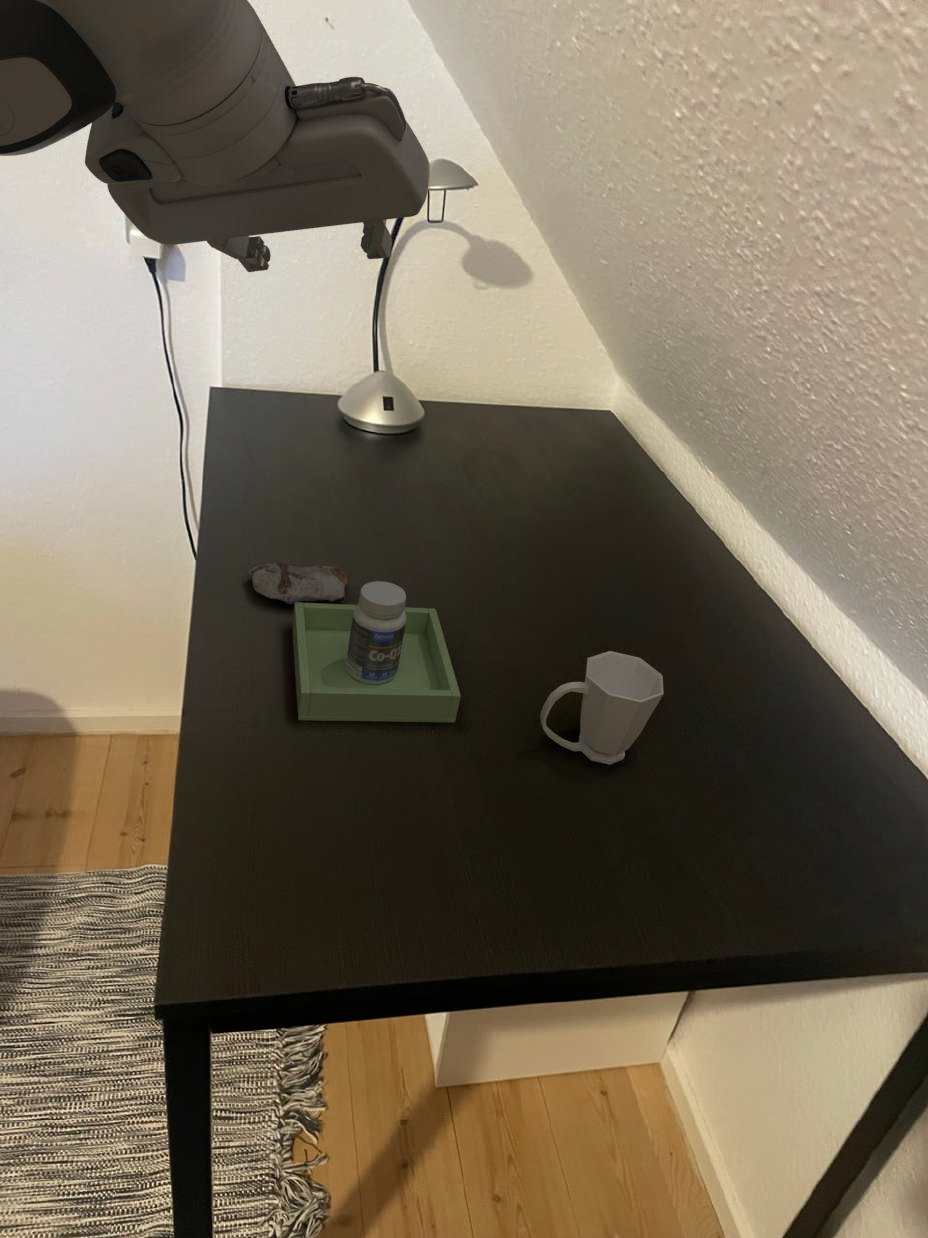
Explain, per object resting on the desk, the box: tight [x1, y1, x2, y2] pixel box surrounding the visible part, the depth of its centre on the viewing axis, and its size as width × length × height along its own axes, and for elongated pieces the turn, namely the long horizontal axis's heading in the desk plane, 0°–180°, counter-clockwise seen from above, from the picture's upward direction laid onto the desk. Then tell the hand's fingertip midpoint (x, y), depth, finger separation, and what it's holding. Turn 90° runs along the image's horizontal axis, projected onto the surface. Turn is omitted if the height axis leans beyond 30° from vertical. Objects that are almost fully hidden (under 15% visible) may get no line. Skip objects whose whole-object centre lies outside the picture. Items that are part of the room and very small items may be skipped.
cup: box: [539, 650, 664, 766], centre depth 81 cm, size 7×10×8 cm
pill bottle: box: [346, 580, 407, 684], centre depth 84 cm, size 5×5×8 cm
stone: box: [248, 561, 349, 605], centre depth 95 cm, size 10×7×3 cm
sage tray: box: [291, 602, 462, 723], centre depth 86 cm, size 14×14×3 cm
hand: (319, 257), depth 67 cm, fingers open, 8 cm apart
